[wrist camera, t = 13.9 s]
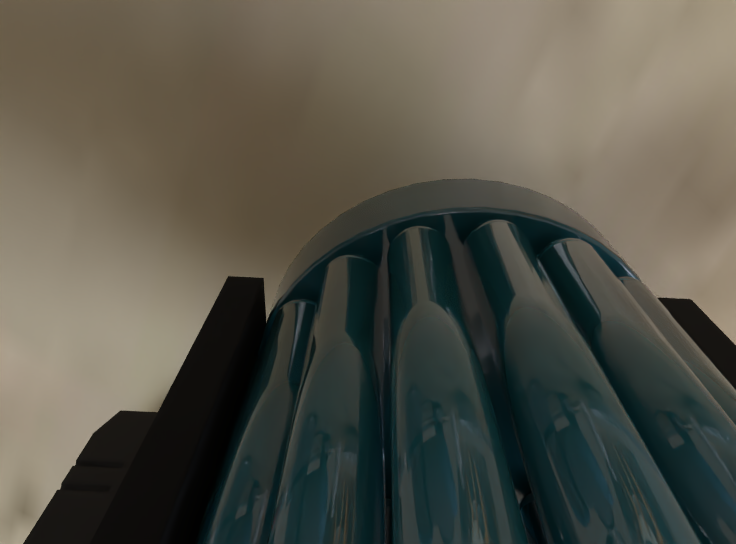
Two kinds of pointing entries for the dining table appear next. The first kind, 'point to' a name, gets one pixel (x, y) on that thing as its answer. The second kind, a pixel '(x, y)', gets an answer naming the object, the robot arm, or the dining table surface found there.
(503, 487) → the teal ridged cylinder
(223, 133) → the dining table surface
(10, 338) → the dining table surface
